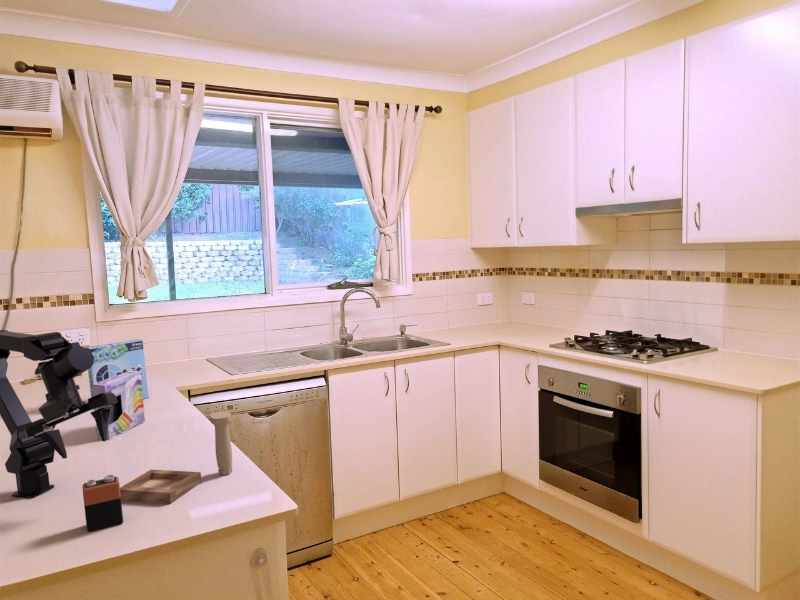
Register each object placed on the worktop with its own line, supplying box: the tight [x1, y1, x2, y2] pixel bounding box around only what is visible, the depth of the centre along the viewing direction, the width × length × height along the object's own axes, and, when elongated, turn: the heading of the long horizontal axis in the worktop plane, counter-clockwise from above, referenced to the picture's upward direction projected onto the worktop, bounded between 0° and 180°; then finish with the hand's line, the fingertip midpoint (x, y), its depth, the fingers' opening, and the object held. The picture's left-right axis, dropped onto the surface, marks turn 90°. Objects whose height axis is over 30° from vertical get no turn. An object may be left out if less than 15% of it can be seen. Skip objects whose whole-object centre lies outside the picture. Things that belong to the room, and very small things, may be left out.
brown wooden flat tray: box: [120, 469, 202, 504], centre depth 142 cm, size 14×12×2 cm
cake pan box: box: [92, 371, 146, 440], centre depth 191 cm, size 19×5×18 cm, turn 168°
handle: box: [210, 410, 233, 476], centre depth 150 cm, size 5×6×15 cm
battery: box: [82, 474, 124, 532], centre depth 125 cm, size 4×7×10 cm, turn 119°
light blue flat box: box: [85, 339, 150, 400], centre depth 227 cm, size 20×5×23 cm, turn 134°
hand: (85, 449), depth 135 cm, fingers open, 9 cm apart
